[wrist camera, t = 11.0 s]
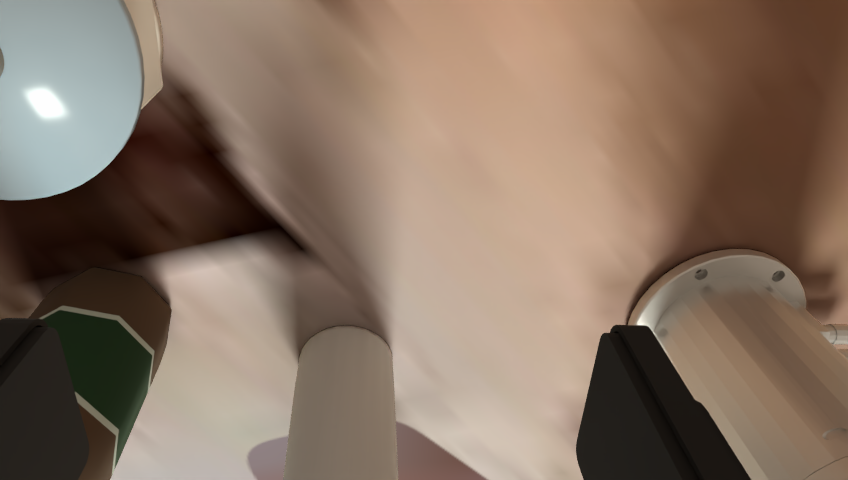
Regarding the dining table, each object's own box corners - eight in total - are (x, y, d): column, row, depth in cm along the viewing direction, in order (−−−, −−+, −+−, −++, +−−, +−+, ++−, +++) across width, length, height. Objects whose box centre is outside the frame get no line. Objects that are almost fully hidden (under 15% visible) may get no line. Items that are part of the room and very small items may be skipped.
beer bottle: (76, 366, 42) (-206, 833, 21) (29, 270, 38) (-370, 727, 17) (191, 352, 42) (23, 801, 22) (156, 255, 38) (-89, 689, 18)
